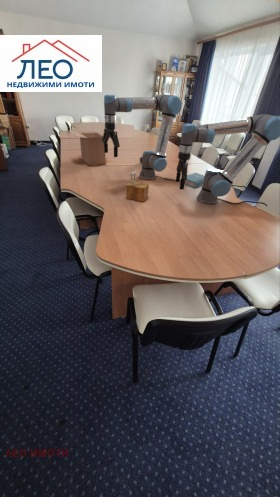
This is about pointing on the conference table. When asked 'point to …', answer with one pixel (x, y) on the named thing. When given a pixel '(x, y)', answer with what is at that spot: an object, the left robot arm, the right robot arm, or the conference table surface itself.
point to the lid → (136, 183)
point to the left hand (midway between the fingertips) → (110, 154)
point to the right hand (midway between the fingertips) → (179, 185)
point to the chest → (137, 193)
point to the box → (92, 147)
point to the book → (194, 180)
